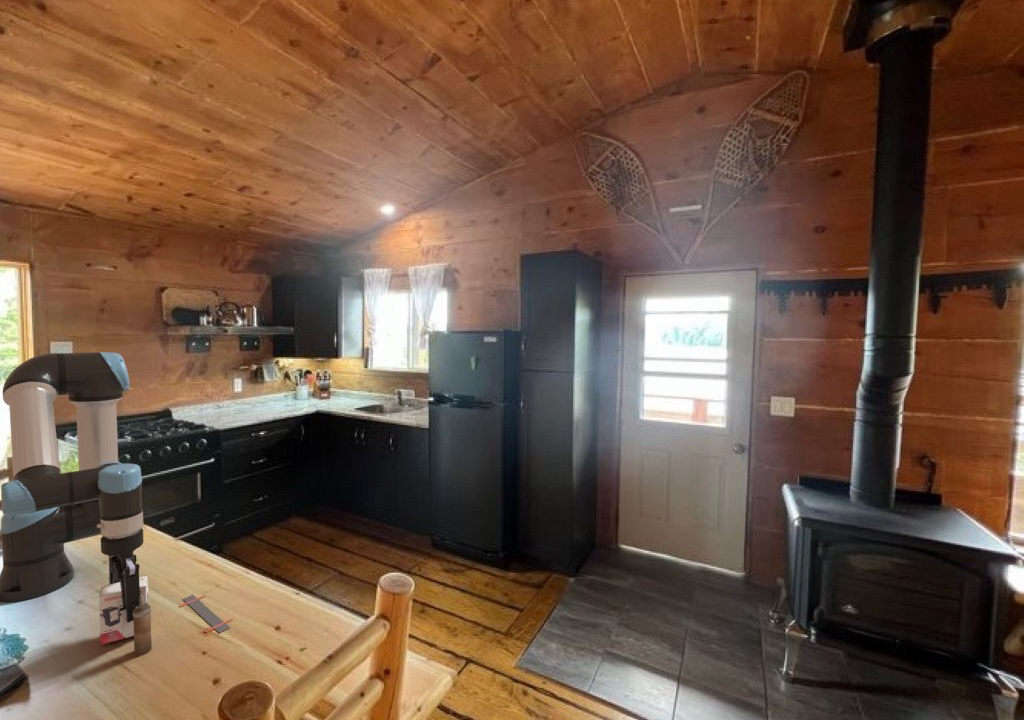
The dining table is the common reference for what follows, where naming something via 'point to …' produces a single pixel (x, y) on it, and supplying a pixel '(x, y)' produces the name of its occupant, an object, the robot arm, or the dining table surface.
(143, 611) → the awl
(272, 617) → the dining table surface
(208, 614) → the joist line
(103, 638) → the ink box
